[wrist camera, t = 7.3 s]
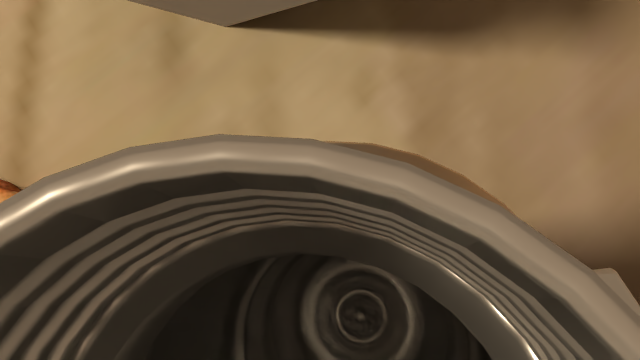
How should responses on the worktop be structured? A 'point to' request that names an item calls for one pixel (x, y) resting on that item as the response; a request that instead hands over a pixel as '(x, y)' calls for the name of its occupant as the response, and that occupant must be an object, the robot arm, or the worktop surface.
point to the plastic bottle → (289, 262)
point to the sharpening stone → (223, 8)
